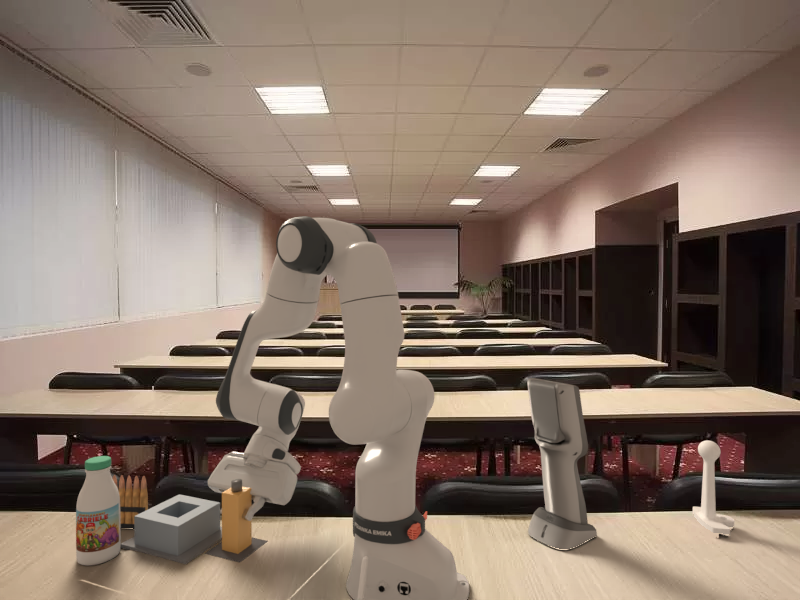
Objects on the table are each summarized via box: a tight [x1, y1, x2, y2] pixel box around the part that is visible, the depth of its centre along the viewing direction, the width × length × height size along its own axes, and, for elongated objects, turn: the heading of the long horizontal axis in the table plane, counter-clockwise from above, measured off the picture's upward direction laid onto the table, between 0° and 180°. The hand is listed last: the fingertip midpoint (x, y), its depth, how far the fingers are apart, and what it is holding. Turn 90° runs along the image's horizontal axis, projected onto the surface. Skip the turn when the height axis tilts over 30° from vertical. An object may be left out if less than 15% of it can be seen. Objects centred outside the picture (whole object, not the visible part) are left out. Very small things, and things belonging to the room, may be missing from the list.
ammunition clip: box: [112, 474, 150, 530], centre depth 113 cm, size 11×2×12 cm, turn 86°
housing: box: [120, 494, 222, 565], centre depth 107 cm, size 18×14×7 cm
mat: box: [203, 536, 269, 563], centre depth 103 cm, size 9×9×1 cm
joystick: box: [692, 439, 735, 535], centre depth 113 cm, size 11×8×20 cm
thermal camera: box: [527, 377, 598, 549], centre depth 109 cm, size 12×13×35 cm
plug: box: [221, 479, 253, 554], centre depth 103 cm, size 4×4×14 cm
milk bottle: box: [75, 455, 122, 566], centre depth 100 cm, size 8×8×20 cm
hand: (234, 517), depth 103 cm, fingers closed on plug, 4 cm apart
